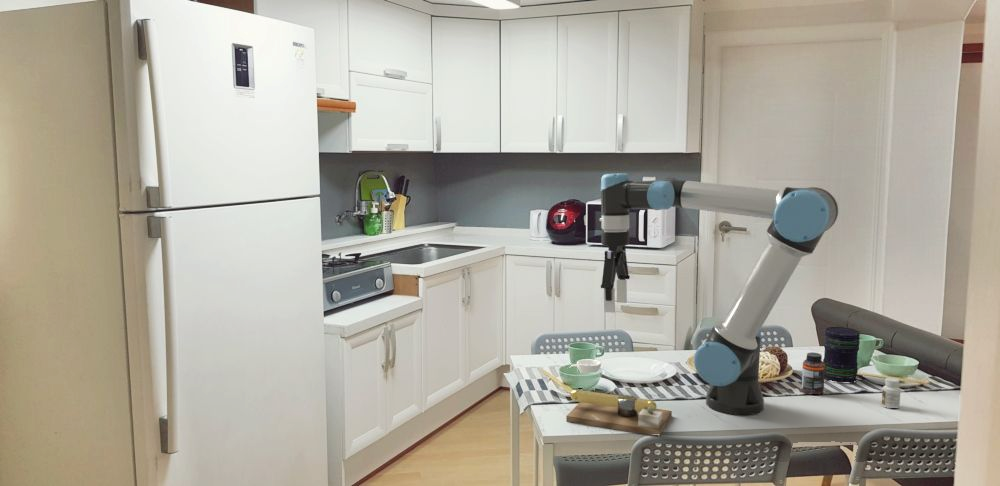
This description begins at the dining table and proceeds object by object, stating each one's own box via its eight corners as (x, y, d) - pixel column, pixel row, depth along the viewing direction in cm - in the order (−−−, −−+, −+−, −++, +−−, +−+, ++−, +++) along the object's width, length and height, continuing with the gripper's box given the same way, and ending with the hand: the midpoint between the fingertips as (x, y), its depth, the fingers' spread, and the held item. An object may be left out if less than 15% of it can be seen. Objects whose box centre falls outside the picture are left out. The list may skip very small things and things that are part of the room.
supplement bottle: (811, 387, 227) (814, 350, 226) (828, 393, 222) (830, 355, 220) (796, 390, 225) (798, 352, 223) (812, 396, 220) (815, 358, 218)
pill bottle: (882, 402, 215) (884, 375, 214) (899, 405, 213) (902, 378, 212) (880, 407, 211) (882, 380, 210) (898, 410, 209) (900, 383, 208)
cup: (600, 393, 221) (600, 366, 220) (565, 391, 223) (565, 364, 221) (600, 385, 228) (601, 359, 227) (566, 384, 229) (567, 357, 228)
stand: (671, 416, 204) (672, 394, 203) (659, 436, 190) (659, 412, 189) (584, 403, 213) (584, 381, 212) (566, 421, 200) (566, 398, 199)
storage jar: (831, 371, 243) (834, 325, 241) (862, 379, 235) (866, 331, 233) (815, 377, 237) (818, 330, 235) (847, 385, 229) (850, 336, 227)
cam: (658, 414, 200) (658, 398, 199) (653, 421, 195) (654, 404, 195) (573, 401, 209) (573, 386, 208) (567, 407, 205) (567, 391, 204)
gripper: (613, 225, 224) (613, 297, 226) (589, 235, 201) (590, 315, 203) (638, 225, 221) (639, 299, 223) (617, 235, 198) (618, 317, 200)
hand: (615, 307), depth 213 cm, fingers open, 13 cm apart
